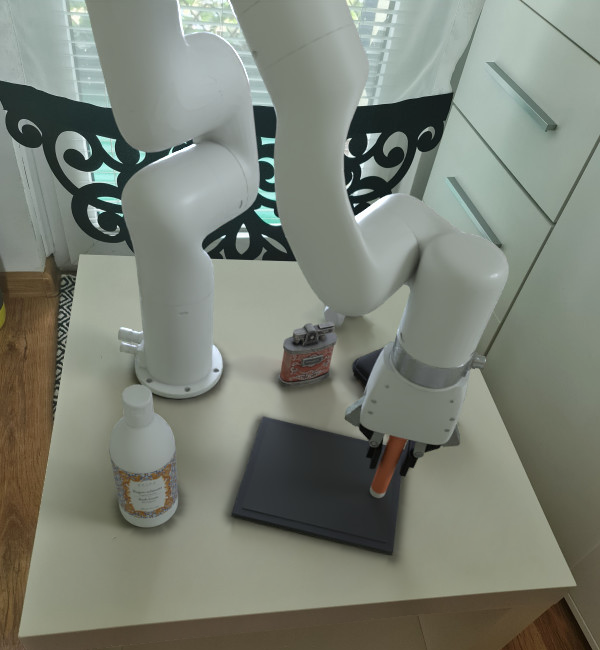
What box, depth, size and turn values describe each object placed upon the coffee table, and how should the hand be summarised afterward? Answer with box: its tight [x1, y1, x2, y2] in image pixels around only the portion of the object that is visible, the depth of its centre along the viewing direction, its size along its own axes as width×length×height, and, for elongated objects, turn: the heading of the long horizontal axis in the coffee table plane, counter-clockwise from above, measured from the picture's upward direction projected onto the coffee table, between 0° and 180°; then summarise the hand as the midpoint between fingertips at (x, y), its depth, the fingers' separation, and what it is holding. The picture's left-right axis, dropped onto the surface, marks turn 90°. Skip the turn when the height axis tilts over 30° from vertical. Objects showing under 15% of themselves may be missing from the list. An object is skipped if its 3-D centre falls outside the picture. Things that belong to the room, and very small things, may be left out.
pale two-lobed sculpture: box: [323, 305, 347, 327], centre depth 101 cm, size 4×8×5 cm
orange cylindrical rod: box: [370, 435, 408, 498], centre depth 74 cm, size 2×2×12 cm
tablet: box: [231, 415, 405, 556], centre depth 80 cm, size 20×16×1 cm
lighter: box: [278, 321, 338, 388], centre depth 88 cm, size 8×3×10 cm, turn 114°
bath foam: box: [108, 384, 179, 528], centre depth 67 cm, size 7×7×20 cm
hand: (388, 462), depth 74 cm, fingers open, 3 cm apart
